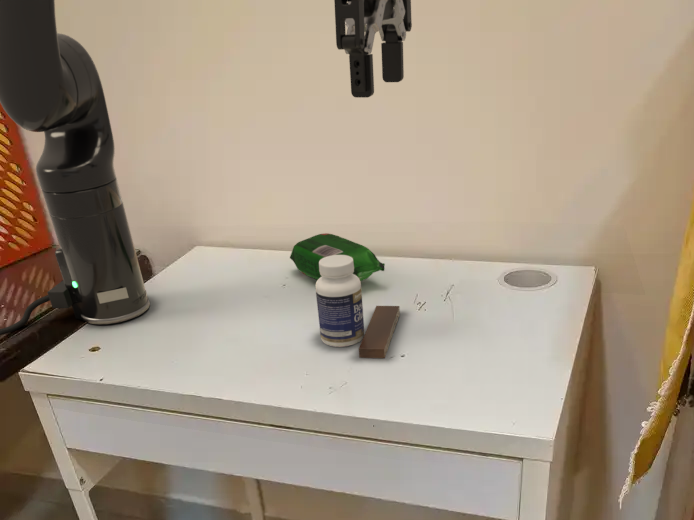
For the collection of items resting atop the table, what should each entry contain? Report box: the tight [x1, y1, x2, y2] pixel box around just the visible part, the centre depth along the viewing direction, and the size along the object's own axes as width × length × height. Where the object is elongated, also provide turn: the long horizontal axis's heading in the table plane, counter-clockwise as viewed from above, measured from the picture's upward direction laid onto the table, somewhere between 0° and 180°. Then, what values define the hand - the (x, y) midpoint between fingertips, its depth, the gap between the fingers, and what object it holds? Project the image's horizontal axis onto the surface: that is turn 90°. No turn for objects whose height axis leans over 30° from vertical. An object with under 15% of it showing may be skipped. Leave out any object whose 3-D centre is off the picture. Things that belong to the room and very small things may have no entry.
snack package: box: [289, 232, 386, 282], centre depth 102 cm, size 7×16×5 cm, turn 35°
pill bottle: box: [314, 255, 365, 348], centre depth 85 cm, size 5×5×10 cm
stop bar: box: [358, 305, 401, 359], centre depth 88 cm, size 3×12×1 cm, turn 168°
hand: (378, 89), depth 75 cm, fingers open, 8 cm apart
